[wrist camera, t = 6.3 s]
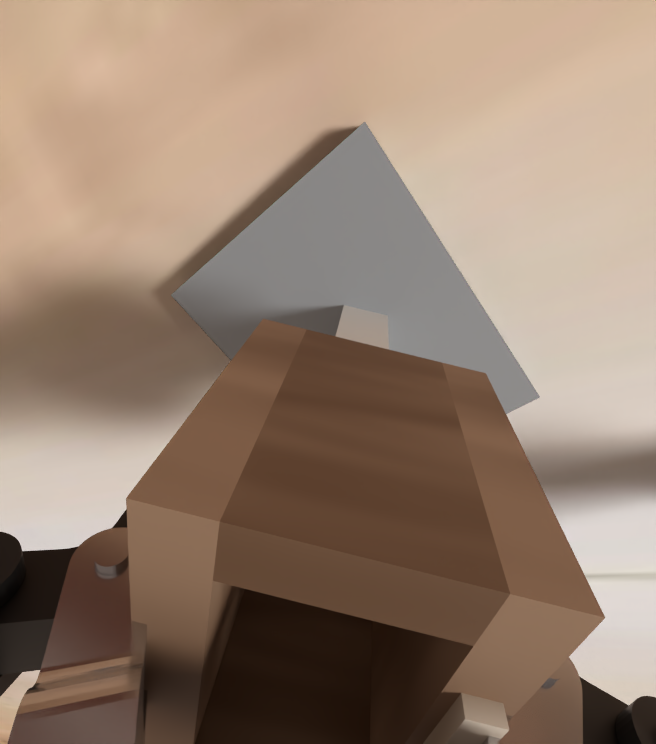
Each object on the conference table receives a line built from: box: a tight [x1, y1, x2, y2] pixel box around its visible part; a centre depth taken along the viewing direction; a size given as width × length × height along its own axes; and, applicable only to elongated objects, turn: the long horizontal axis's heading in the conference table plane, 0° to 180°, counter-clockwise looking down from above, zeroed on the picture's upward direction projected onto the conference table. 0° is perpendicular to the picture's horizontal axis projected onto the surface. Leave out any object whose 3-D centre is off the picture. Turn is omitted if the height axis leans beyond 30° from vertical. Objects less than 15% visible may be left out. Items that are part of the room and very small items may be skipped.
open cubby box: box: [126, 319, 605, 744], centre depth 9 cm, size 7×6×6 cm
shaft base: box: [171, 122, 540, 414], centre depth 16 cm, size 11×14×10 cm
